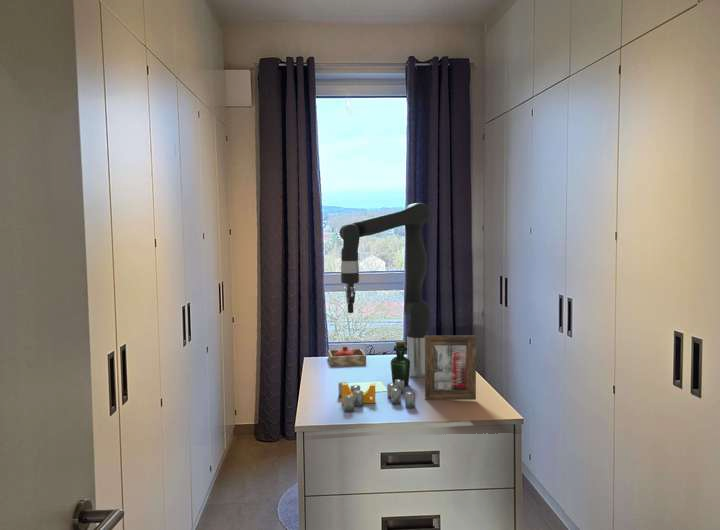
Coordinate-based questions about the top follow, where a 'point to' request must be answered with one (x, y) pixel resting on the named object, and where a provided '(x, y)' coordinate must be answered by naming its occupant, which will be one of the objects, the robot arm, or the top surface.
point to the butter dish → (345, 352)
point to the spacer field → (392, 393)
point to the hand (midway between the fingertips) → (350, 312)
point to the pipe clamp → (366, 395)
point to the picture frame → (450, 367)
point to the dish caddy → (347, 358)
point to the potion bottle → (400, 364)
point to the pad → (365, 386)
